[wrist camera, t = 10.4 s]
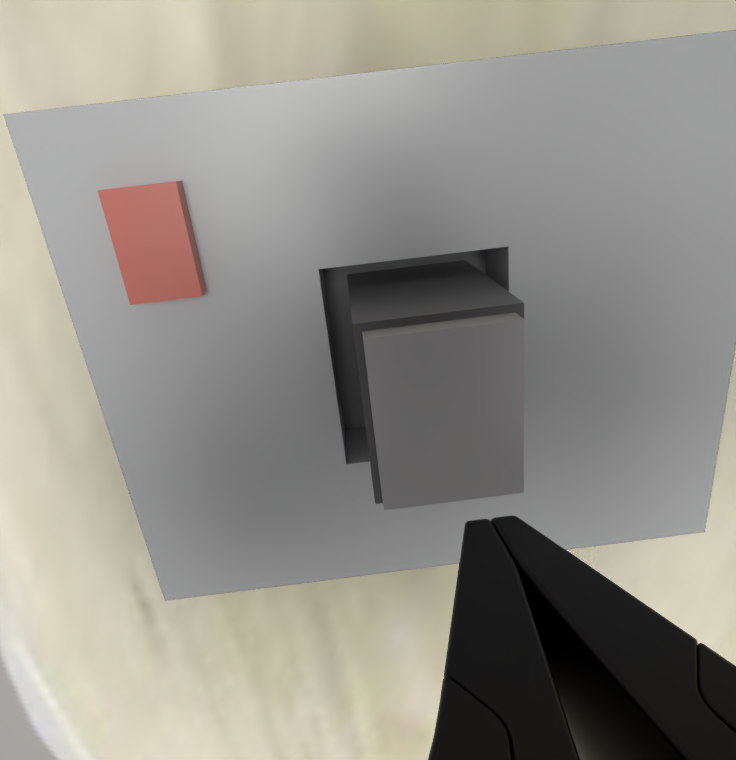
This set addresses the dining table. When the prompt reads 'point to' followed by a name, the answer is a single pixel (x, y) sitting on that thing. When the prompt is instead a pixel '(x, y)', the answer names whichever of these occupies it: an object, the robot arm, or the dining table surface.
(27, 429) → the dining table surface
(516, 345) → the plug
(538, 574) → the robot arm
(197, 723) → the dining table surface
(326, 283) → the socket plate
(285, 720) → the dining table surface
